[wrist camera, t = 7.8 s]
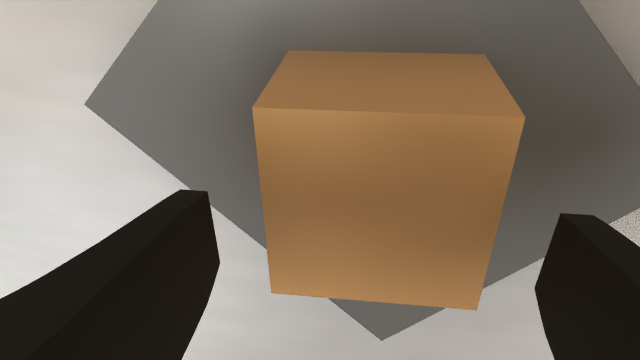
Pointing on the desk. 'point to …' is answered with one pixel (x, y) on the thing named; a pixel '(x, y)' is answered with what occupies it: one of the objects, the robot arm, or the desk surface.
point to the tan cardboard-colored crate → (384, 174)
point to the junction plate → (384, 36)
